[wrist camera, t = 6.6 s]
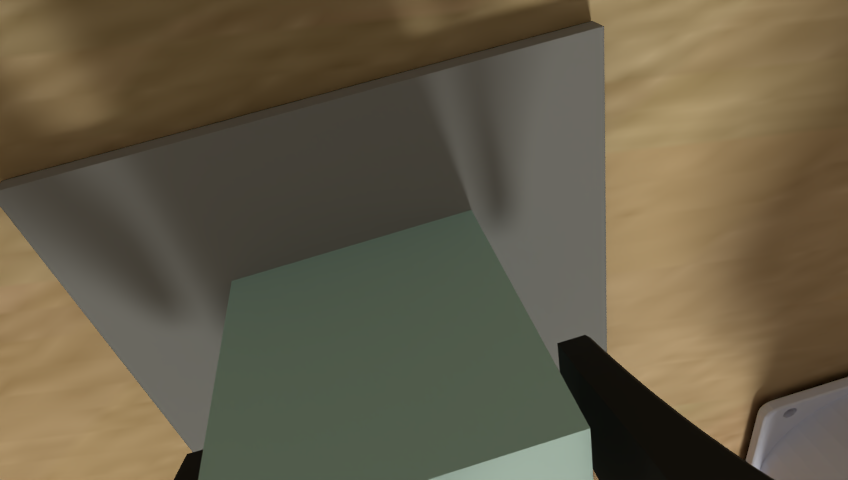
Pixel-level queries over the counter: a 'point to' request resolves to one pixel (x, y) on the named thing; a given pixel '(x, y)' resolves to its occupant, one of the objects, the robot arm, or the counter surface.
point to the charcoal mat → (334, 202)
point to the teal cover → (390, 370)
